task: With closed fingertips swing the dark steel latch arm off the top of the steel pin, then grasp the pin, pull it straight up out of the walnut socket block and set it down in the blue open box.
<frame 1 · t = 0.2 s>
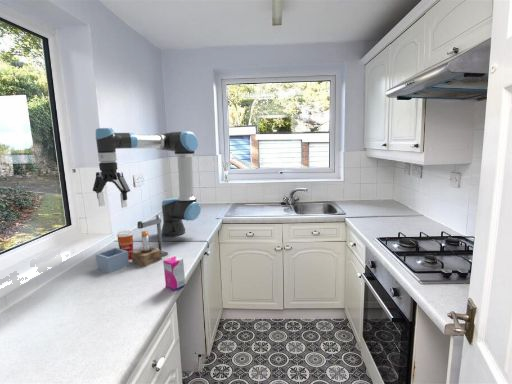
hand: (113, 206, 142), 28 cm above the worktop, fingers open, 13 cm apart
pin: (145, 246, 146), in the socket block
supplement box: (175, 286, 120), on the worktop
socket block: (147, 260, 148), on the worktop
paper cup: (127, 258, 151), on the worktop
latch base: (161, 255, 155), on the worktop
blue open box: (113, 266, 141), on the worktop
latch: (150, 236, 148), point 11 cm above the worktop, hinge at 0.0°
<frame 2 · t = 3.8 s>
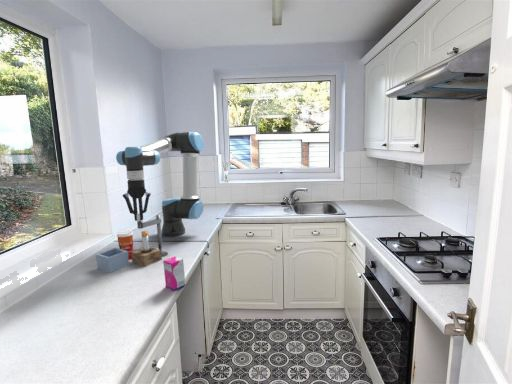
hand: (139, 226, 145), 17 cm above the worktop, fingers closed
latch: (150, 236, 148), point 11 cm above the worktop, hinge at 0.2°, touching gripper
everything else where it was.
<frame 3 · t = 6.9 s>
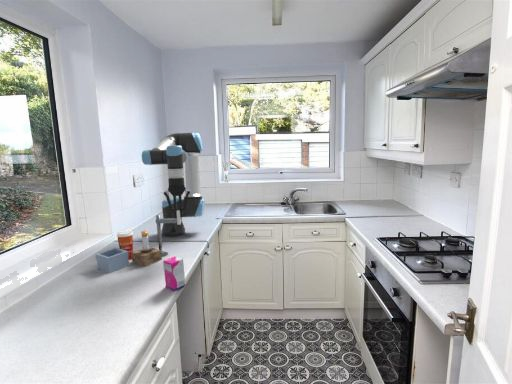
hand: (179, 223, 149), 17 cm above the worktop, fingers closed
latch: (169, 233, 153), point 12 cm above the worktop, hinge at 121.6°, touching gripper
everything else where it was.
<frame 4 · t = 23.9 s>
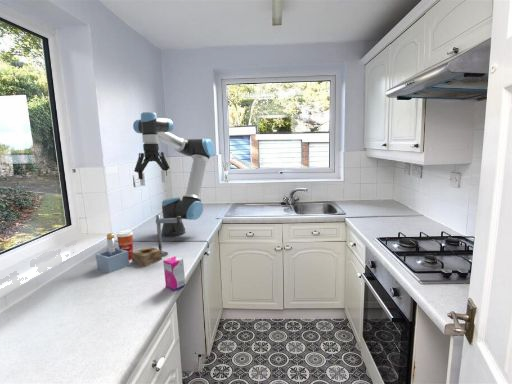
hand: (153, 183, 156), 37 cm above the worktop, fingers open, 13 cm apart
pin: (111, 249, 140), in the blue open box, point 8 cm above the worktop
latch: (169, 233, 153), point 12 cm above the worktop, hinge at 124.9°
everything else where it was.
at the end: pin inside the target area on the blue open box (0.1 cm from its centre), point 8.5 cm above the blue open box's base; latch at +125° (first picture: +0°); the gripper is holding nothing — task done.
